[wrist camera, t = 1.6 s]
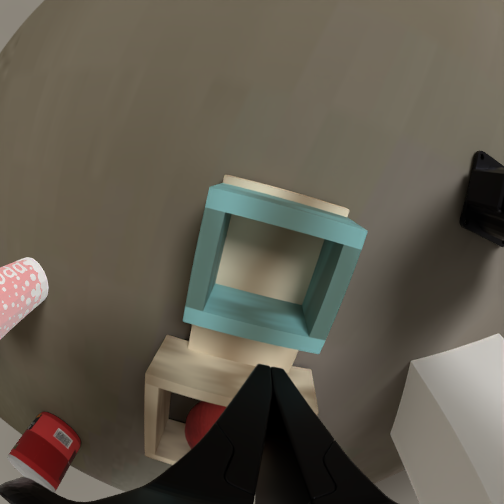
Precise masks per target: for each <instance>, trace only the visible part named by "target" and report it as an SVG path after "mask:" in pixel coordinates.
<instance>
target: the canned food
mask: <svg viewBox="0 0 504 504" xmlns="http://www.w3.org/2000/svg"><path fill="white" fill-rule="evenodd" d="M80 444H81V441H80V438H79V437H78V435H77V434H76V432H75V431H74V430H73V429H72V428H71V427H70V426H69V425H67V424H66V423H65V422H64V421H62V420H61V419H60V418H58V417H57V416H55V415H53V414H51V413H48V412H42V413H40V414H39V415H38V416H37V417H36V418H35V420H34V421H33V422H32V423H31V425H30V426H29V427H28V429H27V430H26V431H25V433H24V434H23V435H22V437H21V438H20V439H19V441H18V442H17V443H16V445H15V446H14V447H13V449H12V450H11V452H10V453H9V455H8V457H7V458H8V460H9V462H10V463H11V464H12V465H13V466H14V467H15V468H16V469H17V470H18V471H19V472H20V473H21V474H22V475H23V476H24V477H26V478H29V479H32V480H34V481H35V482H37V483H39V484H41V485H42V486H44V487H46V488H47V489H49V490H51V491H52V492H55V491H56V489H57V488H58V486H59V484H60V482H61V480H62V479H63V477H64V475H65V473H66V471H67V470H68V468H69V466H70V464H71V462H72V461H73V459H74V457H75V455H76V454H77V452H78V450H79V448H80Z"/></svg>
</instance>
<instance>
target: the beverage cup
mask: <svg viewBox="0 0 504 504" xmlns="http://www.w3.org/2000/svg"><path fill="white" fill-rule="evenodd" d="M47 295H48V281H47V278H46V275H45V273H44V270H43V269H42V267H41V266H40V265H39V263H38V262H37V261H35V260H34V259H33V258H29V257H26V258H23V259H21V260H18V261H16V262H13V263H11V264H8V265H6V266H3V267H1V268H0V339H1V338H2V337H3V336H5V335H6V334H7V333H8V332H9V331H10V330H11V329H12V328H13V327H14V326H15V325H16V324H17V323H19V322H20V321H21V320H22V319H23V318H24V317H25V316H26V315H28V314H29V313H30V312H31V311H32V310H33V309H34V308H36V307H37V306H38V305H39V304H40V303H41V302H43V301H44V300H45V298H46V297H47Z"/></svg>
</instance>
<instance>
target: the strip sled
mask: <svg viewBox="0 0 504 504" xmlns="http://www.w3.org/2000/svg"><path fill="white" fill-rule="evenodd" d="M348 213H349V209H347V208H345V207H342V206H339V205H336V204H332V203H329V202H326V201H323V200H319V199H316V198H313V197H309V196H306V195H302V194H299V193H295V192H292V191H288V190H285V189H281V188H277V187H274V186H270V185H266V184H262V183H259V182H255V181H251V180H247V179H243V178H239V177H235V176H231V175H224V179H223V183H221V184H217V185H214V186H211V187H210V188H209V192H208V197H207V201H206V205H205V210H204V214H203V219H202V223H201V228H200V233H199V237H198V242H197V247H196V252H195V257H194V262H193V267H192V272H191V278H190V283H189V288H188V294H187V300H186V305H185V311H184V317H183V322H186V323H190V324H192V328H191V334H190V339H189V341H186V340H183V339H180V338H176V337H173V336H170V335H167V336H166V337H165V339H164V341H163V343H162V344H161V346H160V348H159V350H158V351H157V353H156V355H155V357H154V359H153V360H152V362H151V364H150V366H149V368H148V369H147V371H146V373H145V402H144V437H145V456H147V457H150V458H153V459H156V460H159V461H162V462H165V463H168V464H172V465H173V464H175V463H176V462H177V461H178V460H179V459H181V458H182V457H183V456H184V455H185V454H187V453H188V452H189V451H190V450H191V448H190V446H189V444H188V442H187V440H186V437H185V424H184V423H181V422H177V421H174V420H171V419H168V418H169V408H170V400H171V392H174V393H177V394H180V395H184V396H187V397H191V398H194V399H198V400H201V401H205V402H209V403H213V404H217V405H221V406H225V407H227V406H228V405H229V403H230V402H231V400H232V399H233V398H234V396H235V395H236V394H237V392H238V391H239V389H240V388H241V387H242V385H243V384H244V382H245V381H246V380H247V378H248V377H249V375H250V374H251V373H252V371H253V370H254V368H255V367H256V365H257V364H263V365H268V366H270V368H271V367H278V368H282V369H284V370H285V372H286V373H287V375H288V376H289V377H290V379H291V380H292V382H293V383H294V385H295V386H296V387H297V389H298V390H299V392H300V393H301V394H302V396H303V397H304V399H305V400H306V401H307V403H308V404H309V406H310V407H311V408H312V410H313V411H314V412H315V414H316V415H318V413H319V412H318V406H317V400H316V394H315V389H314V383H313V377H312V372H311V369H305V368H300V367H294V366H292V364H293V362H294V360H295V358H296V355H297V353H298V351H299V350H300V351H305V352H311V353H316V354H319V353H320V351H321V349H322V347H323V345H324V342H325V340H326V338H327V336H328V333H329V331H330V329H331V326H332V324H333V322H334V320H335V317H336V315H337V312H338V310H339V308H340V305H341V303H342V300H343V298H344V295H345V293H346V290H347V288H348V285H349V282H350V280H351V277H352V274H353V272H354V269H355V266H356V264H357V261H358V258H359V255H360V252H361V250H362V247H363V244H364V241H365V238H366V235H367V232H368V231H367V230H365V229H364V228H363V227H361V226H360V225H358V224H357V223H355V222H354V221H352V220H350V219H349V218H347V216H348Z"/></svg>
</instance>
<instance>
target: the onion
mask: <svg viewBox="0 0 504 504" xmlns="http://www.w3.org/2000/svg"><path fill="white" fill-rule="evenodd" d="M225 409H226V407H225V406H221V405H217V404H213V403H209V402H205V401H200V402H199V403H197V404H196V405H195V406H194V407H193V408H192V409H191V410H190V412H189V414H188V416H187V419H186V424H185V437H186V440H187V442H188V444H189V446H190V448H191V449H192V448H193V447H194V446H195V445H196V444H197V443H198V442H199V441H200V440H201V439H202V438H203V437H204V435H205V434H206V433H207V432H208V431H209V429H210V428H211V427H212V426H213V424H214V423H215V422H216V421H217V419H218V418H219V417H220V415H221V414H222V413H223V411H224V410H225Z"/></svg>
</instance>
